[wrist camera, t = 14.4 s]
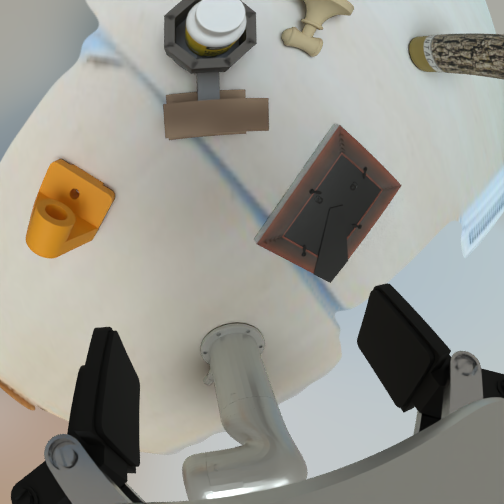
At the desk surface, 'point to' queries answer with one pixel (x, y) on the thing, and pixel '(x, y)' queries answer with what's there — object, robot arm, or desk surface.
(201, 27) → the supplement bottle
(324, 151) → the picture frame
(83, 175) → the bracket
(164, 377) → the desk surface
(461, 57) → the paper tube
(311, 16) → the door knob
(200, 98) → the cup bracket
